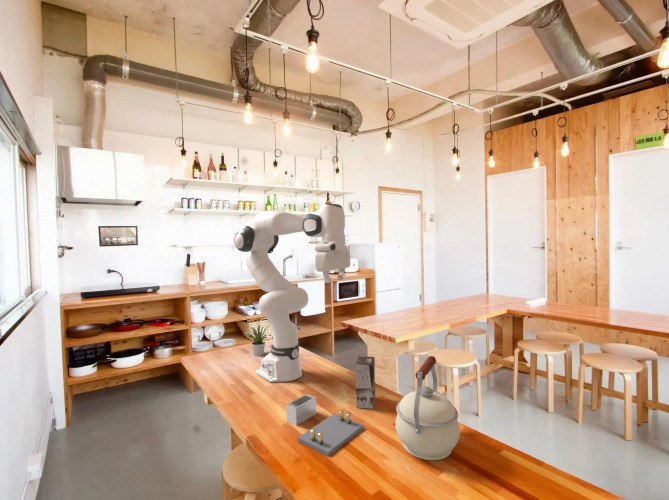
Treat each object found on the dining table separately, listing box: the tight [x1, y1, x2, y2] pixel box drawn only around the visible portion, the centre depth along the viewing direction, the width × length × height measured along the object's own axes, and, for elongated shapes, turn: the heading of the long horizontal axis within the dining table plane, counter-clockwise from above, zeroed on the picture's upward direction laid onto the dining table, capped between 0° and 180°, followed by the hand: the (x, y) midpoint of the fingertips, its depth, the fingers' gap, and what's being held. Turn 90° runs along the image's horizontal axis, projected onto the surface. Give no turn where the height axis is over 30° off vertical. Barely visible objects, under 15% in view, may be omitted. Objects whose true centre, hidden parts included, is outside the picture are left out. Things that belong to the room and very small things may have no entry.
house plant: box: [244, 323, 272, 357], centre depth 187 cm, size 14×14×16 cm
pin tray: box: [297, 409, 365, 457], centre depth 110 cm, size 12×18×4 cm, turn 141°
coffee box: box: [355, 356, 376, 410], centre depth 130 cm, size 9×6×16 cm
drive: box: [286, 393, 317, 426], centre depth 121 cm, size 4×10×6 cm, turn 141°
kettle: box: [394, 355, 461, 461], centre depth 104 cm, size 25×18×25 cm
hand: (334, 281), depth 135 cm, fingers open, 8 cm apart
